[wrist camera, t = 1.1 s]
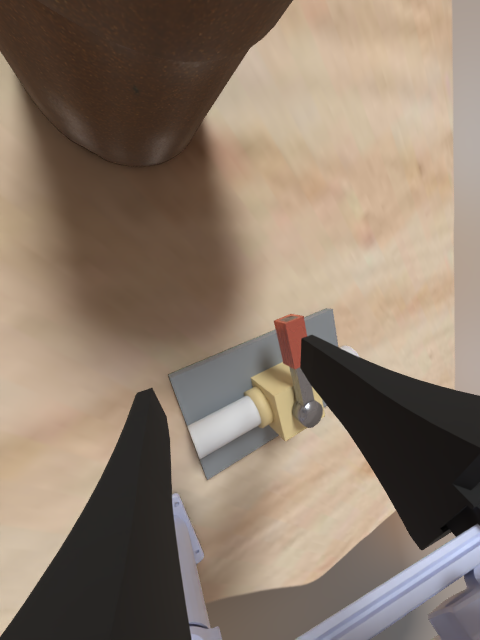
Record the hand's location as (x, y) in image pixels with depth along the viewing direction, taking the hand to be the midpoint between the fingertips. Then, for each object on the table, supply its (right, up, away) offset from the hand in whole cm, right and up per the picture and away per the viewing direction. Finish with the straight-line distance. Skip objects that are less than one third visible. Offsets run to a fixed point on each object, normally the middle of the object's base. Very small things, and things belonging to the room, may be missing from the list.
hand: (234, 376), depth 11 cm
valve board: (+4, -5, +16) cm, 17 cm away
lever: (+5, -2, +10) cm, 11 cm away
